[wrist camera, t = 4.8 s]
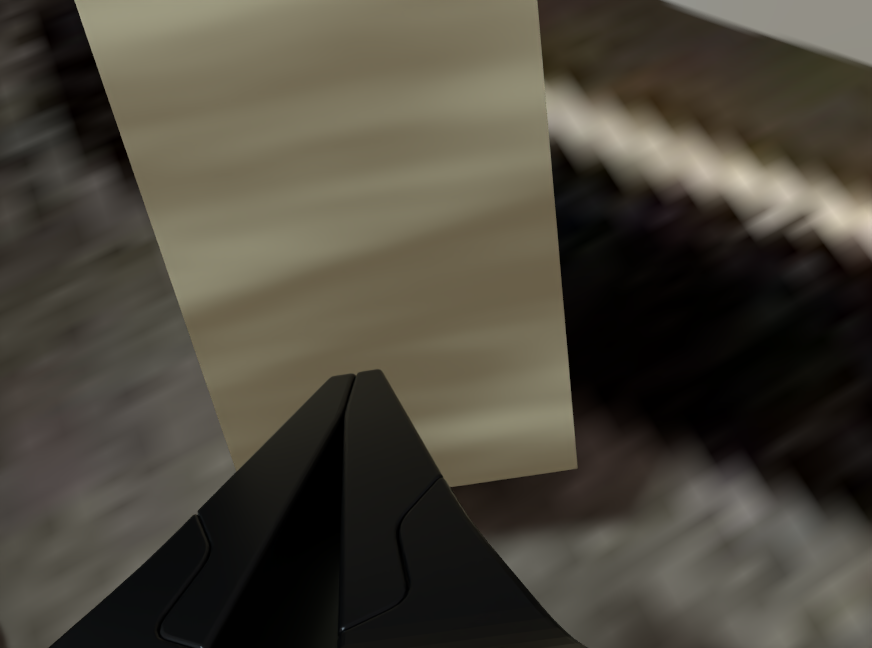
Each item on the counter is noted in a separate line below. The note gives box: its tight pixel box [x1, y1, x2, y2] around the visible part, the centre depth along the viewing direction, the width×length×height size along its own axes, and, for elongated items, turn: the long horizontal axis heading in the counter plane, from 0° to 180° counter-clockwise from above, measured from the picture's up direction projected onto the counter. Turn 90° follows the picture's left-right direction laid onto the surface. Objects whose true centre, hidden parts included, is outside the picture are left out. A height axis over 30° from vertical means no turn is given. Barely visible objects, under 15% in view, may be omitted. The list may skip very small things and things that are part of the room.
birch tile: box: [75, 0, 578, 487], centre depth 13 cm, size 2×8×12 cm
